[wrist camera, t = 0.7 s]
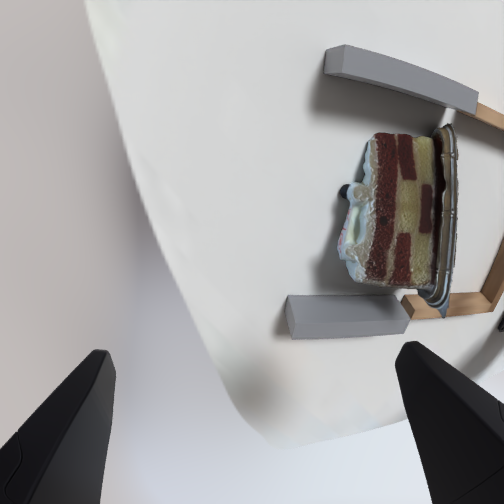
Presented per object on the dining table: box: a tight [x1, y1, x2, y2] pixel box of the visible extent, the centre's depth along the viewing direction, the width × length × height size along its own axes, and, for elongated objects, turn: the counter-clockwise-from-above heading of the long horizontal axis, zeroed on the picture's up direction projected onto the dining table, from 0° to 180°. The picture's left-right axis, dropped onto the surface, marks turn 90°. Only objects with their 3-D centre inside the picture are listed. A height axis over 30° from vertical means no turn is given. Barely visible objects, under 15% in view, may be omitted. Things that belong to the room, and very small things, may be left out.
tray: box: [401, 102, 504, 320], centre depth 20 cm, size 11×17×2 cm, turn 175°
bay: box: [285, 45, 479, 340], centre depth 18 cm, size 9×18×3 cm, turn 174°
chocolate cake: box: [337, 123, 458, 318], centre depth 19 cm, size 10×7×12 cm
